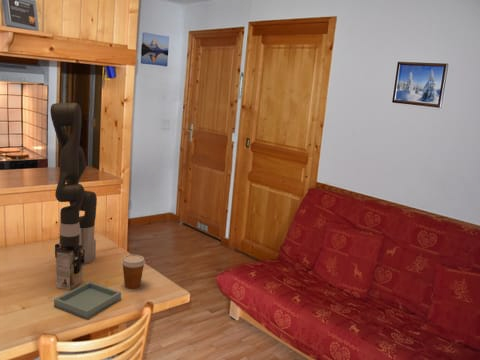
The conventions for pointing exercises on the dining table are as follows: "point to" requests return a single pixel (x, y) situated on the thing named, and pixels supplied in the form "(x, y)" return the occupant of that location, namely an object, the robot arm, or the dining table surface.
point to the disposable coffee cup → (133, 270)
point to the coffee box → (67, 269)
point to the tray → (87, 300)
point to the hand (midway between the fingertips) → (69, 271)
